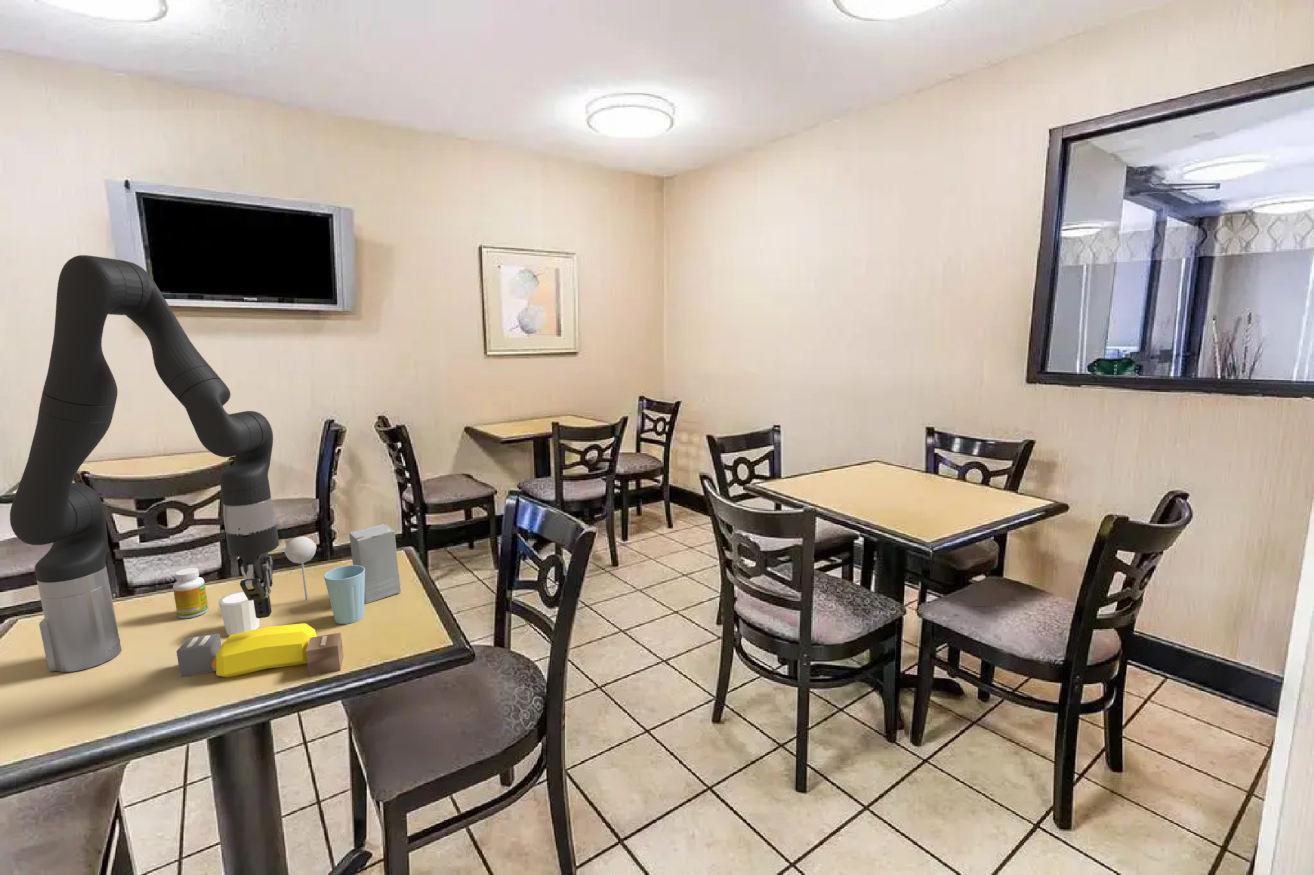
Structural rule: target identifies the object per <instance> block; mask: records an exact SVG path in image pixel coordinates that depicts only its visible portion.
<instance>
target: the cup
mask: <svg viewBox="0 0 1314 875" xmlns="http://www.w3.org/2000/svg"><path fill="white" fill-rule="evenodd" d="M323 578H324V582H325V586H326V590H327V594H328V598H329V601H330V603H329V604H330V606H331V610H332V614H333V618H334V621H335V623H336V624H339V625H348V624H349V623H350V624H354V623H356V622H358V621H360V620H361V619H363V618H364V617H365V603H364V593H365V568H364V567H362V566H358V565H353V564H352V565H344V566H339V567H335V568H332V569H330V570H329V571H327V572H325V573H324V575H323Z"/></svg>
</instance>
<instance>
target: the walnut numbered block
mask: <svg viewBox="0 0 1314 875" xmlns="http://www.w3.org/2000/svg"><path fill="white" fill-rule="evenodd" d="M316 636H317V635H316ZM342 640H343V639H342V632H335V633H330V634H329V633H328V634H325V635H318V636H317V637H311V638H310V640H309V643H308V646H307V649H306V656H307V663H306V665H307V670H308V677H312V676H313V675H314V676H318V675H323V674H324V675H325V674H328V673H335V672H341V670H342V664H343V660H344V650H343V641H342Z"/></svg>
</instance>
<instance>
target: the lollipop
mask: <svg viewBox="0 0 1314 875" xmlns="http://www.w3.org/2000/svg"><path fill="white" fill-rule="evenodd" d="M316 551H317V544H316V543H315V542H314V541H313V539H311V538H310V537H308V536H297V537H294V538H293V539H291V540H290V541H289V542H288V543H287V544H286V547H285V548H284V554H285V556H286V557H287V559H288V560H289V561H291V563H293V564H301V572H302V581H303V589H304V598H305V601H306V602H307V601H309V597H308V589H307V580H306V572H305V563H307V562H309V561H310V560H312V559H313V558H314V556H315V554H316Z"/></svg>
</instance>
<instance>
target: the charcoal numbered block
mask: <svg viewBox="0 0 1314 875" xmlns="http://www.w3.org/2000/svg"><path fill="white" fill-rule="evenodd" d="M220 634H221V633H213V634H206V635H198V636H197V635H196V636H192V637H191V636H190V637H187V638H186V639H185V640H184V642H182V644H181V645H180V647H179V648H178V649H177V650H176V656H177V663H178V664H177V665H178V669H179V674H180V677H182V678H183V677H187V676H188V677H189V676H193V675H194V676H196V675H200V674H206V673H212V672H215V670H213V668H212V666H211V664H212V661H213V659H214V658H216V654H217V652H218V651H219V649H220V648H221V646H222V640H221V635H220Z"/></svg>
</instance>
